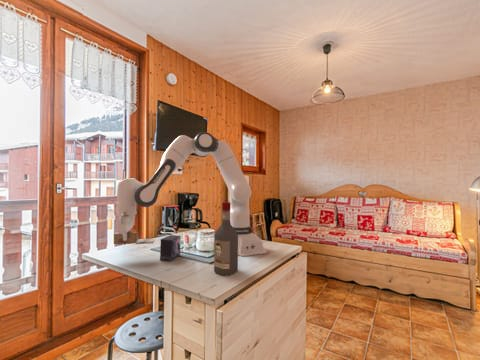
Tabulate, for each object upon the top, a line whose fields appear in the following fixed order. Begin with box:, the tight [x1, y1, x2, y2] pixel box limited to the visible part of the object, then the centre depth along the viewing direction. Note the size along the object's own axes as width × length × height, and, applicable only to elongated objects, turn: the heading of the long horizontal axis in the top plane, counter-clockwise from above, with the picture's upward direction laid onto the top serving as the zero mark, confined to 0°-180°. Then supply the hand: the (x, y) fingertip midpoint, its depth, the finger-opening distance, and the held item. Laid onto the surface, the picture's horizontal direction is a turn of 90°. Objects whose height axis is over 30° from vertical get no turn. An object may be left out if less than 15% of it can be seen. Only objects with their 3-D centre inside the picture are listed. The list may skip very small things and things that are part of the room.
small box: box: [159, 234, 181, 262], centre depth 126 cm, size 11×6×10 cm, turn 168°
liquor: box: [213, 201, 239, 277], centre depth 107 cm, size 9×9×30 cm
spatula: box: [113, 231, 155, 245], centre depth 121 cm, size 18×6×5 cm, turn 104°
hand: (126, 239), depth 121 cm, fingers closed on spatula, 3 cm apart
